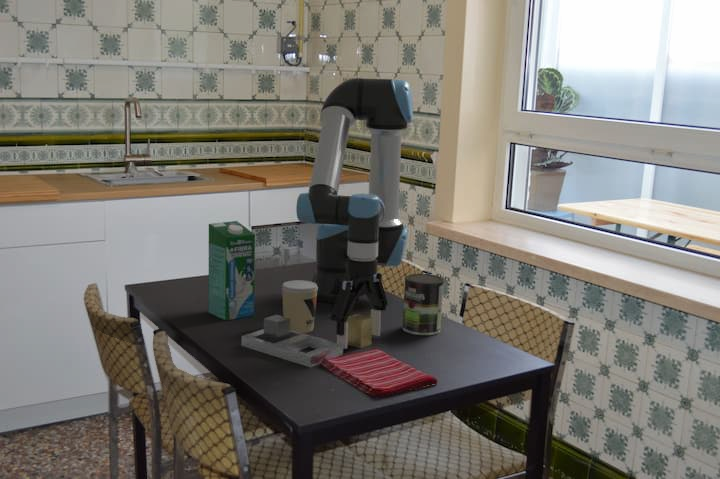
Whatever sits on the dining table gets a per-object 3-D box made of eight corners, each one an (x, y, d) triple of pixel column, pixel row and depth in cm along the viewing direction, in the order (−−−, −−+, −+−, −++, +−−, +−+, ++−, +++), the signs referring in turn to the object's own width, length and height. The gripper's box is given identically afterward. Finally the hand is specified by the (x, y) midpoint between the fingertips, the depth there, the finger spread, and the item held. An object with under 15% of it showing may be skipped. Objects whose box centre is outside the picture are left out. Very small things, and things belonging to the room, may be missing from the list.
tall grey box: (275, 341, 209) (276, 314, 208) (289, 345, 206) (290, 318, 205) (263, 345, 206) (263, 318, 204) (277, 350, 203) (277, 322, 202)
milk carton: (226, 320, 224) (226, 228, 219) (208, 312, 231) (208, 223, 226) (254, 315, 230) (255, 225, 225) (236, 307, 237) (236, 220, 232)
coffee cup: (311, 335, 215) (312, 290, 212) (276, 332, 216) (277, 287, 214) (320, 325, 224) (321, 281, 221) (286, 321, 225) (287, 278, 223)
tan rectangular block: (357, 340, 213) (358, 313, 211) (371, 344, 210) (372, 317, 209) (346, 344, 209) (347, 317, 208) (360, 348, 207) (361, 321, 205)
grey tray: (275, 334, 214) (275, 325, 214) (342, 354, 201) (343, 344, 201) (241, 345, 205) (241, 336, 204) (310, 367, 192) (310, 357, 191)
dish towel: (376, 402, 175) (376, 390, 175) (318, 366, 194) (318, 355, 194) (440, 387, 184) (440, 376, 184) (378, 355, 204) (379, 344, 203)
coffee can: (424, 338, 216) (427, 285, 213) (394, 329, 223) (396, 277, 220) (448, 330, 223) (452, 278, 221) (418, 321, 230) (421, 271, 227)
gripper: (379, 247, 217) (376, 326, 221) (317, 263, 198) (315, 349, 202) (403, 252, 213) (399, 332, 217) (342, 268, 193) (339, 356, 197)
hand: (358, 340), depth 209 cm, fingers open, 13 cm apart
